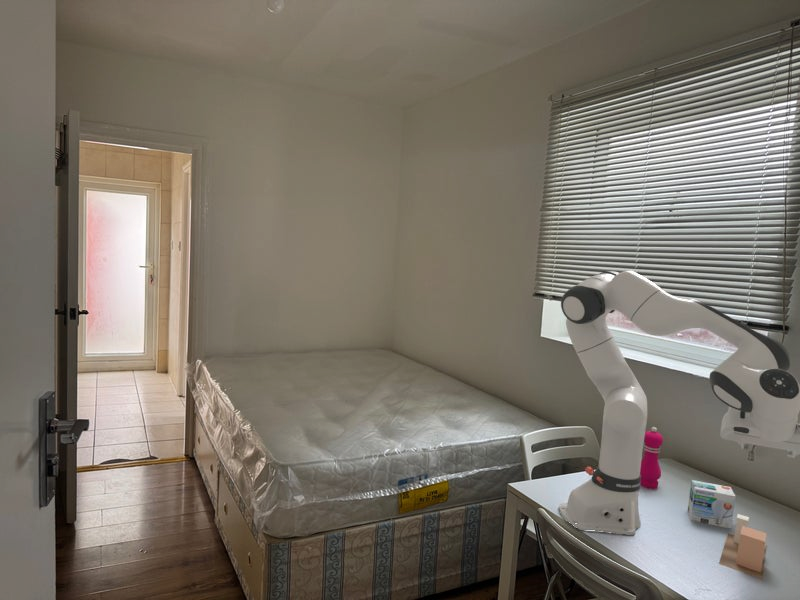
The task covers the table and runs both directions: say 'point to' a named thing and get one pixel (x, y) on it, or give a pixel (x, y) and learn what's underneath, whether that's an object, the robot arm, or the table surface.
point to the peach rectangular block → (751, 548)
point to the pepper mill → (651, 459)
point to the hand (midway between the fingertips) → (767, 450)
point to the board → (730, 557)
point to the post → (740, 526)
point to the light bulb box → (711, 504)
